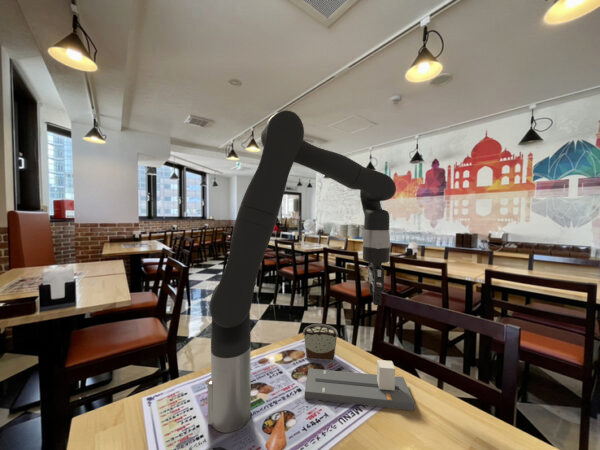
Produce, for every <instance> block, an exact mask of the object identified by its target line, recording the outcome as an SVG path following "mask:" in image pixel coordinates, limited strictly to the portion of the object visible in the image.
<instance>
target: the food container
mask: <svg viewBox="0 0 600 450" xmlns="http://www.w3.org/2000/svg"><path fill="white" fill-rule="evenodd" d="M302 336H304V338H303V339H304V345H305V347H304V348H305V354H306V355H305V357H306V360H315V359H319V360H318V361H330V362H331V361H332V362H333V361H335V355H336V354H335V353H336V345H337V338H338V339H339V333H338V330H337V329H336V328H335V327H333V326H332V325H328V324H324V323H315V324H310V325H308V326H305V328H304V329H303V331H302Z"/></svg>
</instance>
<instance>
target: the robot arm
mask: <svg viewBox="0 0 600 450" xmlns="http://www.w3.org/2000/svg"><path fill="white" fill-rule="evenodd" d="M304 129H305V128H304V124H303V122H302V119H301V118H300V116H299V115H298V114H296V112H294V111H291V110H288V109H287V110H286V109H285V110H280V111H278V112H275V114H273V115H272V116H271V117H270V118H269V119H268V120H267V122H266V123H265V125H264V127H263V129H262V131H261V134H260V142H261V144H262V147H263V149H262V153H261V156H260V160H259V164H258V166H257V168H256V171H255V172H254V175H253V176H252V178H251V179H250V181H249V184H248V186H247V188H246V190H245V192H244V195H243V196H242V197H243V198H242V201H241V202H240V205H239V207H238V208H239V209H238V211H237V215H236V217H235V218H236V219H235V221H234V226H233V230H232V235H231V239H230V240H231V241H230V245H229V246H230V247H229V252H228V258H227V261H226V265H225V268H224V271H223V273H222V276H221V278H220V280H219V283H218V284H217V285H216V286H215V287H214V289H213V291H212V295H211V298H210V301H209V313H210V316H211V334H210V335H211V336H210V380H209V382H208V383H207V424H208V425H211V426H212V427H213V429H214V430H216V431H217V432H220V433H225V434H226V433H227V434H228V433H233V432H235V431H238V430H240V429H242V428H243V427H244V426H245V425H246V424H247V423H248V422H249V420H250V419H251V418H250V417H251V413H252V412H251V408H252V405H251V404H252V402H251V401H252V400H251V397H252V396H251V395H252V394H251V393H252V390H251V388H252V387H251V386H252V384H251V383H252V379H251V378H252V377H251V376H252V375H251V373H252V372H251V370H252V367H251V365H252V364H251V361H252V359H251V357H252V356H251V353H252V351H251V347H252V346H251V344H252V343H251V339H252V338H251V336H252V335H251V334H252V333H251V317H250V316H251V309H252V303H253V298H254V292H255V286H256V283H257V278H258V275H259V270H260V267H261V265H262V262H263V259H264V257H265V255H266V252H267V249H268V247H269V244H270V241H271V238H272V235H273V233H274V230H275V227H276V223H277V221H278V220H277V219H278V217H279V213H280V209H281V206H282V202H283V199H284V195H285V191H286V187H287V183H288V179H289V175H290V172H291V170H292V167H293V165H294V163H295V164H298V165H300V166H304V167H306V168H309V169H310V170H313V171H315V172H317V173H320V174H321V175H323V176H325V177H326V178H327V177H328V178H329V179H331V180H333V181H335V182H336V183H339V184H341V185H342V186H344V187H346V188H348V189H350V190H358V191H359V197H360V202H361V207H362V211H363V217H364V222H363V225H364V226H363V227H364V228H363V237H362V260H363V261H364V262H366V263H368V267H367V277H368V283H369V290H368V291H369V295H370V296H372V303H373V305H374V306H381V305H382V302H383V301H382V299H383V298H382V297H383V296H382V295H383V293H384V292H385V269H384V268H383V267H382V264H387V263H389V262H390V256H391V255H390V249H391V247H390V246H391V237H390V213H389V211H387V210H385V209H383V208H382V205H381V202H384V201H389V200H390V199H392V198H394V196H395V194H396V191H397V186H396V182H395V181H394V180H393V178H392V177H390V176H389V175H388V174H386V173H383V172H381V171H378V170H375V169H372V168H369V167H365V166H363V165H362V164H360V163H358V162H357V161H355V160H353V159H351V158H349V157H348V156H346V155H344V154H340V153H338V152H334V151H331V150H328V149H324V148H321V147H318V146H316V145H313V144H312V143H309V142H308V141H306V140H304V138H305V137H304V136H305V130H304ZM378 285H379V286H378Z"/></svg>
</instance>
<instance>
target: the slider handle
mask: <svg viewBox="0 0 600 450" xmlns="http://www.w3.org/2000/svg"><path fill="white" fill-rule="evenodd" d="M376 361H377V362H376V375H377V383H378V386H379V389H383V390H393V391H395V376H396V368H395V365H394V362H393V361H392V360H384V359H383V360H382V359H377V360H376Z"/></svg>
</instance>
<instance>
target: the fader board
mask: <svg viewBox="0 0 600 450" xmlns="http://www.w3.org/2000/svg"><path fill="white" fill-rule="evenodd" d="M306 375H307V376H306V382H305V387H304V399H305V400H314V401H315V400H317V401H324V402H335V403H340V404H351V405H359V404H361V406H368V405H369V406H371V407H379V408H385V409H387V408H388V409H396V410H405V411H413V412H414V411H415V401H414V399H413V396H412V394H411V392H410V389H409V387H408V384H407V382H406V380H405V377H404V376H397V375H395V391H393V390H383V389H379V386H378V383H377V374H372V373H362V372H361V373H360V372H351V371H341V370H340V371H339V370H330V369H320V368H309V367H308V371H307V374H306Z"/></svg>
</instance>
